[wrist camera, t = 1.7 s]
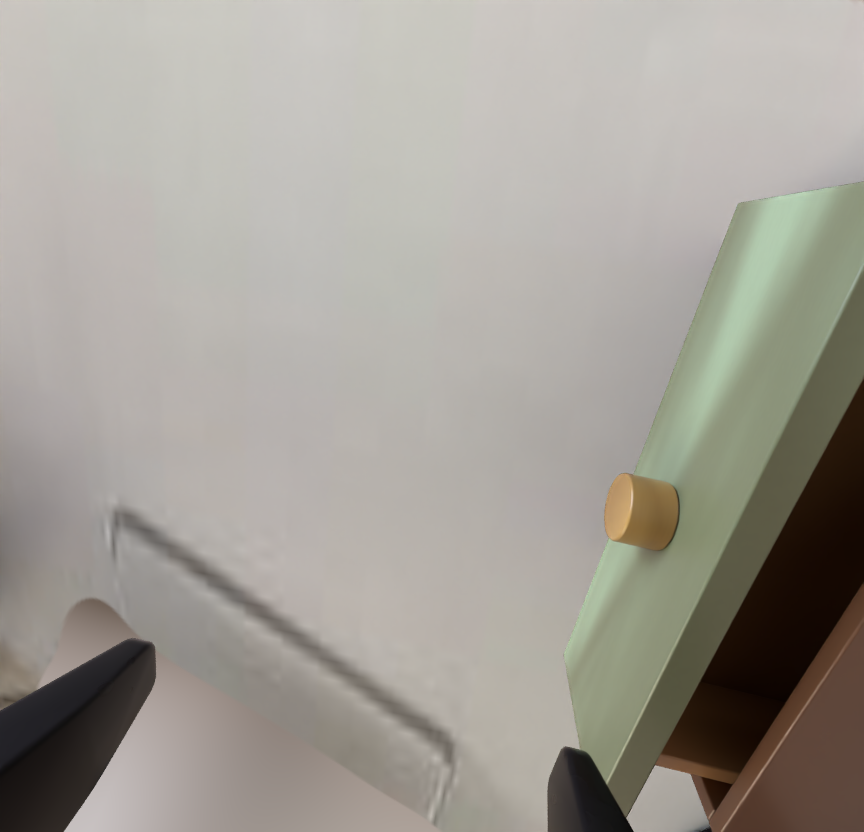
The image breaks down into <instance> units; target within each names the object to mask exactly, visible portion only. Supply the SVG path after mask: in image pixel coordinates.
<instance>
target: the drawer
mask: <svg viewBox="0 0 864 832" xmlns="http://www.w3.org/2000/svg"><path fill="white" fill-rule="evenodd" d="M604 520H605V529H606V533H607V535H608V537H609V539H608V541H607V544H606V547H605V549H604V552H603V554H602V557H601V560H600V562H599V565H598V567H597V570H596V573H595V575H594V578H593V580H592V583H591V585H590V588H589V591H588V593H587V596H586V598H585V601H584V604H583V606H582V609H581V611H580V614H579V617H578V619H577V622H576V624H575V627H574V629H573V632H572V635H571V637H570V640H569V642H568V645H567V648H566V650H565V653H564V659H565V665H566V671H567V676H568V682H569V688H570V693H571V699H572V705H573V711H574V716H575V722H576V728H577V733H578V739H579V745H580V750H583V751H585V752H587V753H588V754H589V755H590V756H591V758H592V759H593V761H594V763H595V764H596V766H597V768H598V770H599V771H600V773H601V775H602V777H603V779H604V780H605V782H606V784H607V786H608V787H609V789H610V791H611V793H612V794H613V796H614V798H615V800H616V801H617V803H618V805H619V807H620V808H621V810H622V812H623V814H624V816H625V817H627V816H628V814H629V812H630V810H631V808H632V806H633V804H634V803H635V801H636V799H637V797H638V795H639V793H640V791H641V790H642V788H643V786H644V784H645V782H646V780H647V779H648V777H649V775H650V773H651V771H652V769H653V767H654V766H655V765H657V766H661V767H665V768H669V769H673V770H677V771H681V772H685V773H689V774H693V775H697V776H701V777H705V778H709V779H713V780H717V781H721V782H725V783H729V784H734V782H735V780H736V779H737V777H738V776H739V774H740V773H741V771H742V770H743V768H744V766H745V765H746V763H747V762H748V760H749V759H750V757H751V756H752V754H753V753H754V751H755V749H756V748H757V746H758V745H759V743H760V742H761V740H762V739H763V737H764V736H765V734H766V732H767V731H768V729H769V728H770V726H771V725H772V723H773V722H774V720H775V718H776V717H777V715H778V714H779V712H780V711H781V709H782V708H783V706H784V705H785V703H786V701H787V700H788V698H789V697H790V695H791V694H792V692H793V691H794V689H795V687H796V686H797V684H798V683H799V681H800V680H801V678H802V677H803V675H804V674H805V672H806V670H807V669H808V667H809V666H810V664H811V663H812V661H813V660H814V658H815V656H816V655H817V653H818V652H819V650H820V649H821V647H822V646H823V644H824V643H825V641H826V639H827V638H828V636H829V635H830V633H831V632H832V630H833V629H834V627H835V625H836V624H837V622H838V621H839V619H840V618H841V616H842V615H843V613H844V612H845V610H846V608H847V607H848V605H849V604H850V602H851V601H852V599H853V598H854V596H855V594H856V593H857V591H858V590H859V588H860V587H861V585H862V584H863V582H864V182H858V183H852V184H846V185H840V186H835V187H829V188H823V189H817V190H811V191H806V192H800V193H794V194H788V195H782V196H776V197H771V198H765V199H759V200H753V201H747V202H742V203H739V204H738V205H737V207H736V210H735V213H734V215H733V218H732V220H731V223H730V226H729V228H728V231H727V233H726V236H725V239H724V241H723V244H722V246H721V249H720V251H719V254H718V257H717V259H716V262H715V264H714V267H713V270H712V272H711V275H710V277H709V280H708V283H707V285H706V288H705V290H704V293H703V295H702V298H701V301H700V303H699V306H698V308H697V311H696V314H695V316H694V319H693V321H692V324H691V327H690V329H689V332H688V334H687V337H686V340H685V342H684V345H683V347H682V350H681V352H680V355H679V358H678V360H677V363H676V365H675V368H674V371H673V373H672V376H671V378H670V381H669V384H668V386H667V389H666V391H665V394H664V396H663V399H662V402H661V404H660V407H659V409H658V412H657V415H656V417H655V420H654V422H653V425H652V428H651V430H650V433H649V435H648V438H647V440H646V443H645V446H644V448H643V451H642V453H641V456H640V459H639V461H638V464H637V466H636V469H635V472H634V474H629V473H622V474H620V475H618V476H617V477H616V479H615V480H614V482H613V483H612V486H611V488H610V490H609V493H608V496H607V500H606V505H605V516H604Z"/></svg>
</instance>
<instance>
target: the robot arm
mask: <svg viewBox="0 0 864 832" xmlns="http://www.w3.org/2000/svg"><path fill="white" fill-rule="evenodd" d="M155 659H156V658H155V646H154V644H153V643H151V642H148V641H144V640H140V639H136V638H131V639H127V640H125V641H123V642H121V643H120V644H118V645H116V646H114V647H112V648H111V649H109V650H107V651H106V652H104V653H102V654H100V655H98V656H96V657H95V658H93V659H92V660H89V661H88V662H86V663H84V664H82V665H81V666H79V667H77V668H75V669H74V670H72V671H70V672H68V673H66V674H65V675H63V676H61V677H59V678H57V679H56V680H54V681H52V682H50V683H49V684H47V685H45V686H43V687H42V688H40V689H38V690H36V691H34V692H33V693H31V694H29V695H27V696H26V697H24V698H22V699H20V700H19V701H17V702H15V703H13V704H11V705H10V706H8V707H6V708H4V709H3V710H1V711H0V832H64V830H65V829H66V828H67V826H68V825H69V823H70V822H71V820H72V819H73V818H74V816H75V814H76V813H77V812H78V810H79V809H80V808H81V806H82V805H83V803H84V802H85V800H86V799H87V797H88V796H89V794H90V793H91V791H92V790H93V788H94V787H95V785H96V783H97V782H98V780H99V779H100V777H101V775H102V774H103V772H104V770H105V769H106V767H107V765H108V764H109V762H110V760H111V758H112V757H113V755H114V753H115V752H116V750H117V748H118V747H119V745H120V743H121V741H122V740H123V738H124V736H125V734H126V733H127V731H128V729H129V728H130V726H131V724H132V723H133V721H134V719H135V717H136V716H137V714H138V712H139V711H140V709H141V707H142V706H143V704H144V702H145V700H146V699H147V697H148V695H149V694H150V692H151V690H152V687H153V685H154V682H155V678H156V660H155ZM548 832H634V831H633V830H632V828H631V826H630V824H629V823H628V821H627V819H626V817H625V816H624V814H623V812H622V810H621V808H620V807H619V805H618V803H617V801H616V800H615V798H614V796H613V794H612V793H611V791H610V789H609V787H608V786H607V784H606V782H605V780H604V779H603V777H602V775H601V773H600V771H599V770H598V768H597V766H596V764H595V763H594V761H593V759H592V758H591V756H590V755H589V754H588V753H587V752H585V751H583V750H579V749H575V748H571V747H566V746H565V747H563V748H562V749H561V751H560V753H559V756H558V758H557V760H556V763H555V765H554V767H553V770H552V772H551V774H550V777H549V782H548ZM700 832H712V829H711V828H708V829H706V830H703V831H700Z"/></svg>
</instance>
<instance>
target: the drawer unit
mask: <svg viewBox="0 0 864 832" xmlns="http://www.w3.org/2000/svg"><path fill="white" fill-rule="evenodd" d="M691 776H692V779H693V782H694V784H695V787H696V790H697V792H698V795H699V798H700V800H701V803H702V806H703V808H704V811H705V814H706V816H707V819H708V820H709V824H710V827H711V829H712V832H864V582H863V584H862V585H861V587H860V588H859V590H858V591H857V593H856V594H855V596H854V598H853V599H852V601H851V602H850V604H849V605H848V607H847V608H846V610H845V612H844V613H843V615H842V616H841V618H840V619H839V621H838V622H837V624H836V625H835V627H834V629H833V630H832V632H831V633H830V635H829V636H828V638H827V639H826V641H825V643H824V644H823V646H822V647H821V649H820V650H819V652H818V653H817V655H816V656H815V658H814V660H813V661H812V663H811V664H810V666H809V667H808V669H807V670H806V672H805V674H804V675H803V677H802V678H801V680H800V681H799V683H798V684H797V686H796V687H795V689H794V691H793V692H792V694H791V695H790V697H789V698H788V700H787V701H786V703H785V705H784V706H783V708H782V709H781V711H780V712H779V714H778V715H777V717H776V718H775V720H774V722H773V723H772V725H771V726H770V728H769V729H768V731H767V732H766V734H765V736H764V737H763V739H762V740H761V742H760V743H759V745H758V746H757V748H756V749H755V751H754V753H753V754H752V756H751V757H750V759H749V760H748V762H747V763H746V765H745V766H744V768H743V770H742V771H741V773H740V774H739V776H738V777H737V779H736V780H735V782H734V784H729V783H725V782H721V781H717V780H713V779H709V778H705V777H701V776H697V775H693V774H691Z"/></svg>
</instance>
